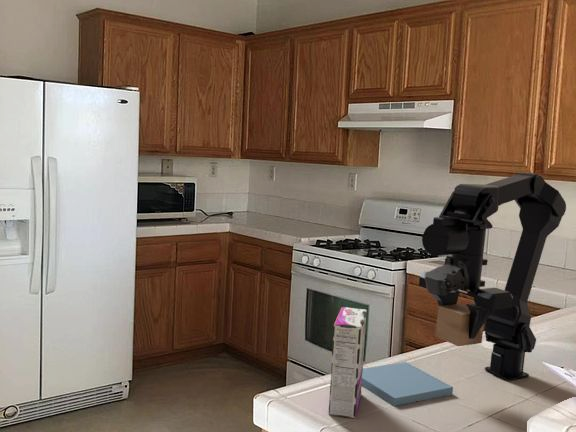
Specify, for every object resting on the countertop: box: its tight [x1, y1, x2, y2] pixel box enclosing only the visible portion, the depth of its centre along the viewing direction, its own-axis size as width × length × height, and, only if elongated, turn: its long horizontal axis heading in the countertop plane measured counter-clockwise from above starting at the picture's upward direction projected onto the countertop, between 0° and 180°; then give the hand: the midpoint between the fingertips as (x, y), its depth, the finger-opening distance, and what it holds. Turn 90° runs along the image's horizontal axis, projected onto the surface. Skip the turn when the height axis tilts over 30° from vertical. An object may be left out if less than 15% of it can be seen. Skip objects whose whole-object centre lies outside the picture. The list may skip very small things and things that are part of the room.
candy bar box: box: [328, 306, 368, 419], centre depth 113 cm, size 11×5×16 cm, turn 168°
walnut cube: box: [435, 303, 484, 347], centre depth 120 cm, size 6×6×6 cm
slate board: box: [361, 361, 454, 407], centre depth 124 cm, size 14×14×2 cm
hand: (458, 333), depth 120 cm, fingers closed on walnut cube, 6 cm apart
